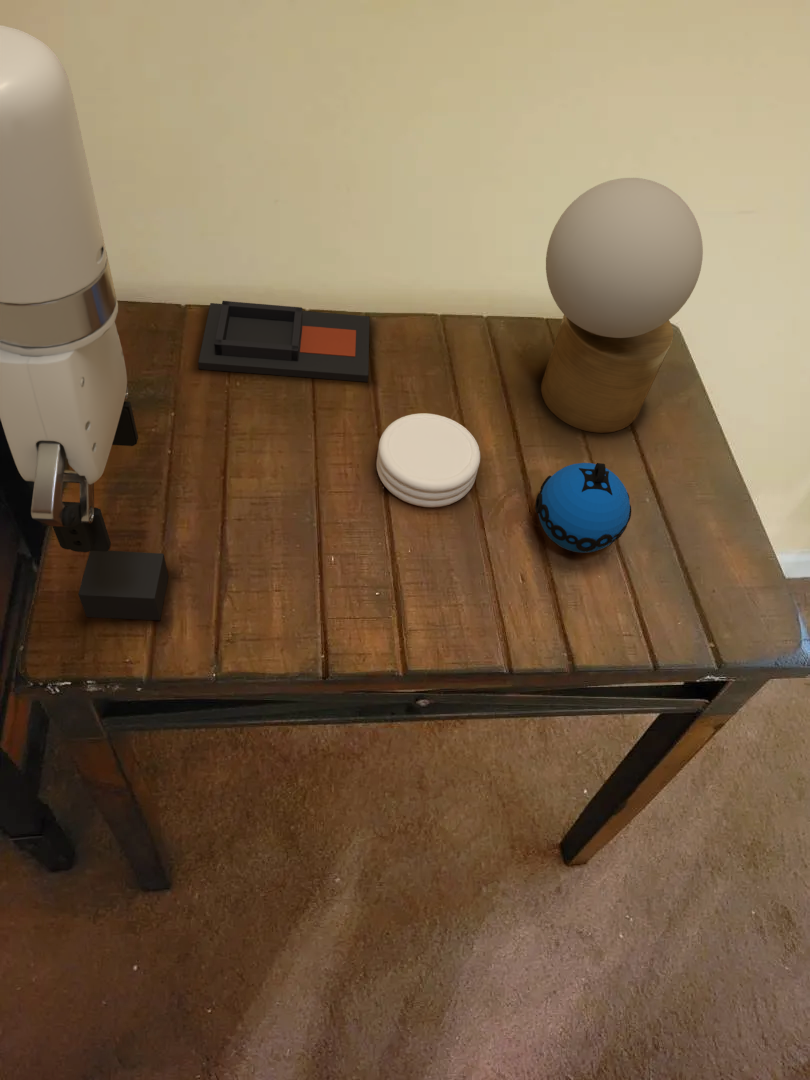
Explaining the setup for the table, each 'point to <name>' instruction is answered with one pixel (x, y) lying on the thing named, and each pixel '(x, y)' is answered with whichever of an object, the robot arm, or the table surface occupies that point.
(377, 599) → the table surface
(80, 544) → the robot arm
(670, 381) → the table surface
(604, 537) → the ornament
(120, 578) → the dark grey block
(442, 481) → the coaster
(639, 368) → the lamp
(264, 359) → the base pad
